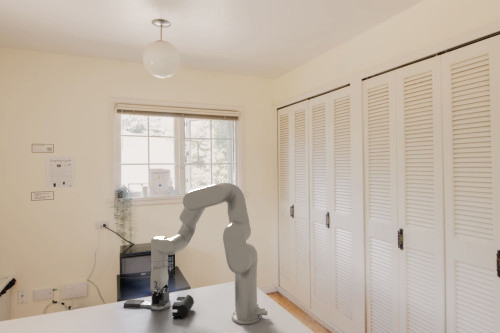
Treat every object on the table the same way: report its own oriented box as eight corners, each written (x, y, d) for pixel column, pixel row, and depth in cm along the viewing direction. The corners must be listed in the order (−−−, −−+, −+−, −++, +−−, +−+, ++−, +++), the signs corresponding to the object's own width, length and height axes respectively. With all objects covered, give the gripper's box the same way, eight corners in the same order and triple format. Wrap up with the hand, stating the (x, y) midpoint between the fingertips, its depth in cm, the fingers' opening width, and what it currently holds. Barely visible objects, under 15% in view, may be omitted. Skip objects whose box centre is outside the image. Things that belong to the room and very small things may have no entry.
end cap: (188, 320, 128) (187, 304, 128) (172, 320, 129) (171, 304, 129) (194, 309, 138) (193, 294, 138) (179, 309, 139) (178, 294, 139)
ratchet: (173, 302, 145) (173, 292, 145) (165, 311, 136) (165, 300, 136) (131, 300, 148) (130, 290, 148) (120, 309, 139) (120, 298, 139)
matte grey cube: (157, 300, 144) (157, 287, 144) (169, 300, 144) (169, 288, 144) (151, 305, 139) (151, 293, 139) (164, 306, 138) (163, 293, 138)
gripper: (160, 257, 150) (160, 291, 150) (143, 269, 133) (144, 307, 133) (174, 257, 149) (175, 291, 149) (159, 269, 132) (160, 308, 132)
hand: (160, 299), depth 141 cm, fingers open, 9 cm apart
